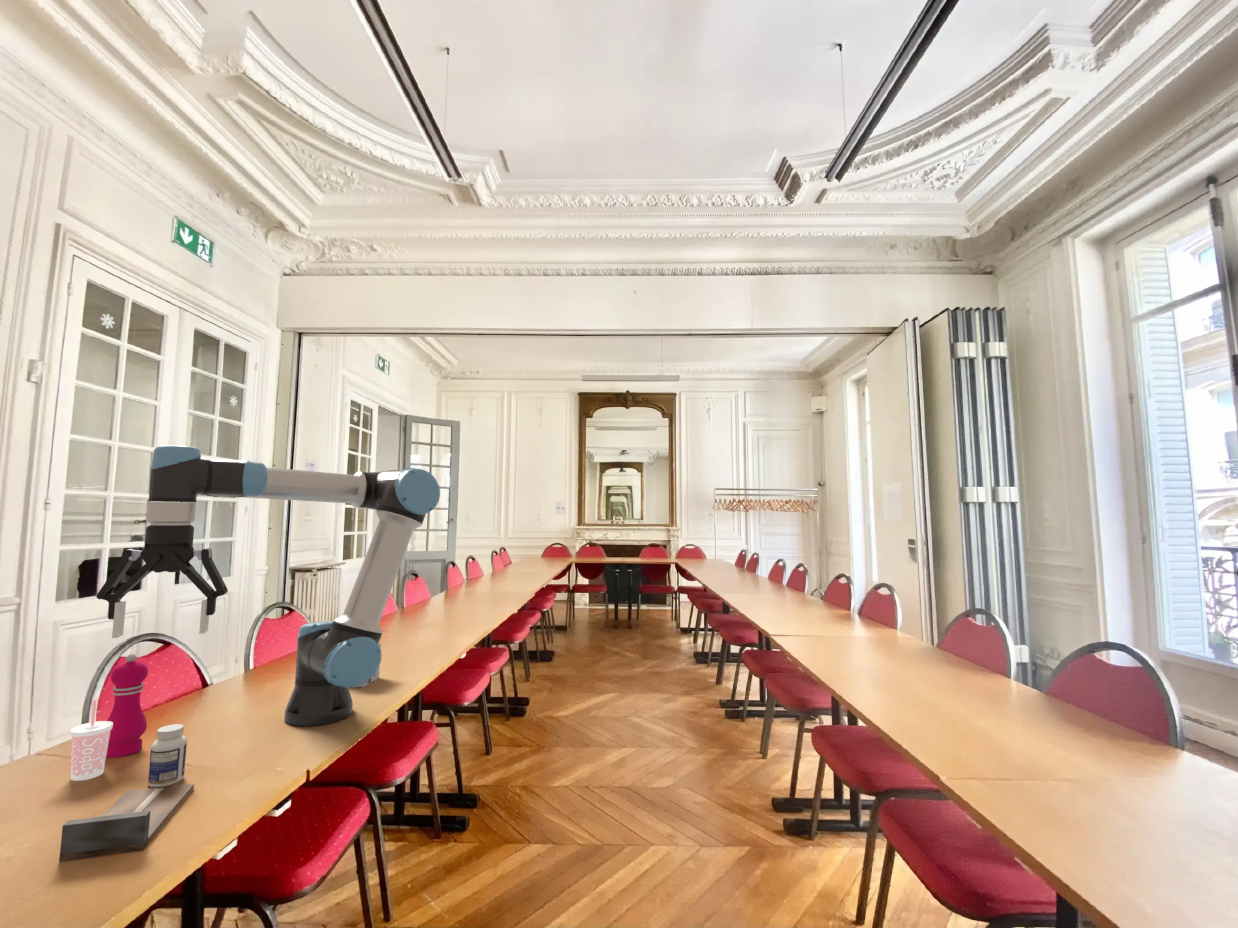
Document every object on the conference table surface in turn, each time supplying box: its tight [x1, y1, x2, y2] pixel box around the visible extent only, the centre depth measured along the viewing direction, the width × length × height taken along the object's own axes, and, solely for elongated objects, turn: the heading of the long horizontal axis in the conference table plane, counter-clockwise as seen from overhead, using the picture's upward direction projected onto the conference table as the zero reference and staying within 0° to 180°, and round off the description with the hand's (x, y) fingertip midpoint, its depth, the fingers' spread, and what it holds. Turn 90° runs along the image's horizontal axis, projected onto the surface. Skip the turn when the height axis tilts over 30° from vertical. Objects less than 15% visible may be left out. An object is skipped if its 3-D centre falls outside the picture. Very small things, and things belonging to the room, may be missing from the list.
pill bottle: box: [147, 723, 188, 788], centre depth 108 cm, size 5×5×10 cm
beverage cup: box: [69, 698, 113, 782], centre depth 110 cm, size 6×6×14 cm
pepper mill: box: [106, 653, 149, 759], centre depth 121 cm, size 7×7×20 cm
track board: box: [58, 783, 195, 863], centre depth 94 cm, size 10×20×5 cm, turn 19°
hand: (161, 634), depth 111 cm, fingers open, 13 cm apart
